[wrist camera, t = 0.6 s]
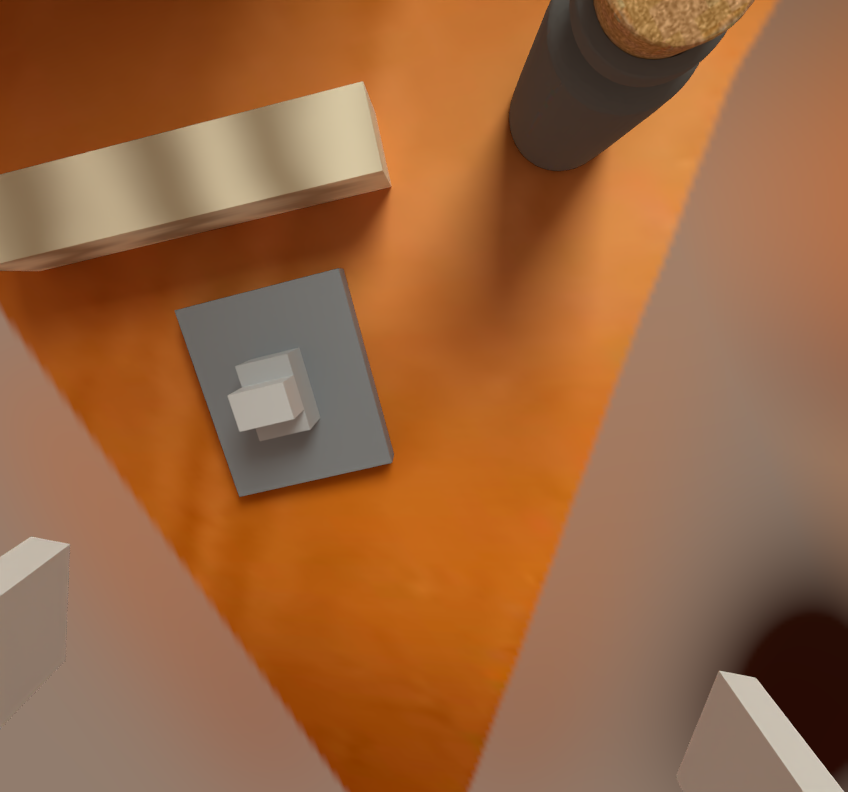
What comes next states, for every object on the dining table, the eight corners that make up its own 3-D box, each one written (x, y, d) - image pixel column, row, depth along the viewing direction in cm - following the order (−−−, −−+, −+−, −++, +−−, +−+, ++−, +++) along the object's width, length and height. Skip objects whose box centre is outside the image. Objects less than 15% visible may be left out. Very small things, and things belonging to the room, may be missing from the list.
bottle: (521, 185, 29) (602, 96, 15) (496, 75, 28) (557, -139, 14) (623, 154, 29) (811, 31, 14) (603, 41, 28) (784, -220, 13)
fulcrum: (186, 309, 32) (129, 316, 26) (343, 268, 31) (320, 266, 25) (247, 487, 34) (208, 531, 28) (393, 454, 33) (384, 492, 27)
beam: (43, 271, 32) (-29, 270, 27) (18, 203, 31) (-61, 190, 26) (392, 187, 30) (382, 170, 25) (375, 113, 29) (362, 81, 24)
